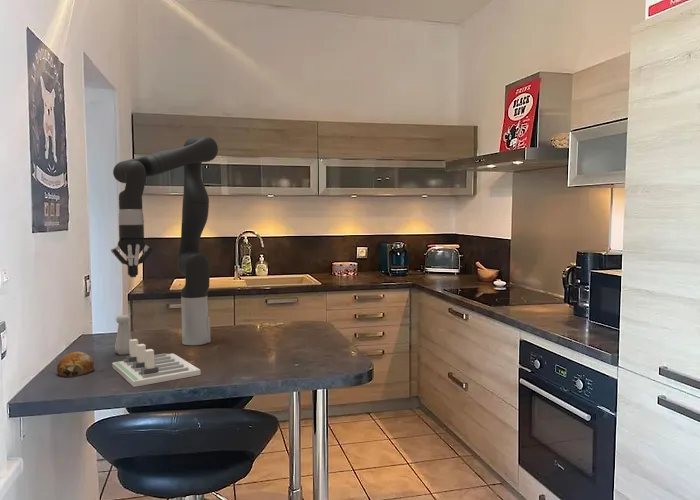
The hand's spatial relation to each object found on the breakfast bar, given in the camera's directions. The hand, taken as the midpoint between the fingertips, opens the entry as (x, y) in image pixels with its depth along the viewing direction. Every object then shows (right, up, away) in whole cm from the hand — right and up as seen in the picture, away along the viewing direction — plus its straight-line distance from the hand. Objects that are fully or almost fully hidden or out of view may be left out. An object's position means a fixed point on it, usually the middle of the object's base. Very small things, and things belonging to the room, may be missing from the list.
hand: (132, 276), depth 181 cm
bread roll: (-12, -28, -13) cm, 34 cm away
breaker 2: (+8, -26, -15) cm, 31 cm away
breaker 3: (+13, -27, -21) cm, 36 cm away
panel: (+11, -28, -12) cm, 32 cm away
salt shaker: (-7, -27, +9) cm, 29 cm away
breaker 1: (+4, -26, -8) cm, 27 cm away
